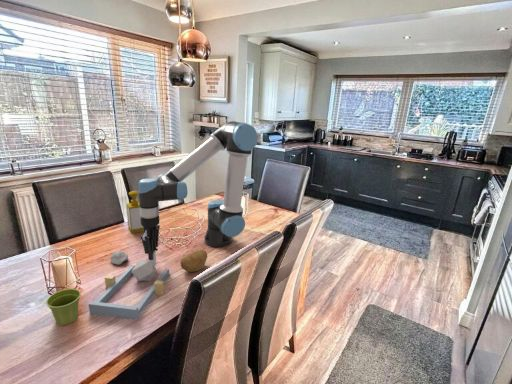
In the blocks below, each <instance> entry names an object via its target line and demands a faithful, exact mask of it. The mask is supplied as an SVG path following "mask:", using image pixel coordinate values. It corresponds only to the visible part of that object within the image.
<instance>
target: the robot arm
mask: <svg viewBox="0 0 512 384" xmlns="http://www.w3.org/2000/svg"><path fill="white" fill-rule="evenodd" d="M258 139H259V136H258V132H257V130H256V128H255V127H254V126H253V125H251V124H249V123H246V122H240V121H239V122H238V121H236V120H235V121H232V120H231V121H228V122H226V123H224V124H223V125H221V126H220V127H219V128H217V129H216V130H214V132H212V133H211V134H210V137H209V139H207V140H206V141H205V142H203V143H201V145H200V146H199V147H197V148H196V149H195V150H193V151H192V152H191V153H190V154H188V155H187V156H186V157H184V158H183V159H181V161H180V162H179V163H177V164H176V165H175V166H174V167H172V168H171V169H169V170H168V171H167V172H166V173H161V174H159V175H158V176H157V178H156V179H155V178H143V179H140V180H139V181H138V184H137V186H138V189H137V192H138V194H137V195H138V202H139V206H140V207H139V209H140V216H141V217H140V222H141V225H142V226H143V227H144V231H143V235H140V240H141V242H142V246H143V251H144V254H145V255H146V254H147V256H148V259H147V260H152V262H153V264H154V266H155V267H156V265H157V254H156V252H157V251H159V250H158V247H159V239H160V238H159V237H160V234H159V233H160V227H161V226H160V225H159V224H160V208H159V207H160V205H159V203H160V202H165V201H166V202H167V201H177V200H184V199H187V197H188V191H189V190H188V185H187V183H186V182H184V180H186V179H187V178H188V177H189V176H190V175H192V173H194V172H195V171H196V170H198V169H199V168H200V167H201V166H203V165H204V164H206V162H208V161H209V160H211V158H212V157H214V156H215V155H216V154H218V153H219V152H220V151H224V150H226V153H227V154H228V161H227V168H226V169H227V172H226V177H225V178H226V179H225V185H224V187H225V188H224V195H223V199H215V200H210V201H209V202H208V204H207V230H206V232H205V235H204V243H205V245H207V246H209V247H212V248H224V247H226V246H229V245H231V244H232V243H233V238H234V237H237V236H239V235H240V234H242V233H243V231H244V230H245V227H246V221H245V218H244V217H243V216H244V215H243V214H244V208H243V206H242V199H243V191H244V185H245V178H246V171H247V169H246V168H247V164H248V163H247V162H248V158H249V157H250V156H251V155H252V151H253V149H255V147H256V146H257V144H258Z"/></svg>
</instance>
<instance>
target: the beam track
mask: <svg viewBox="0 0 512 384" xmlns="http://www.w3.org/2000/svg"><path fill="white" fill-rule="evenodd" d="M135 265H136V264H131V265H130V266H129V267H128V268H126V270H125V271H124V272H123V273H122V274H121V275H120V276H119V277H118V278H116V275H113V274H112V275H111V274H107V275H106V276H105V277H104V283H105V289H106V290H105V291H104V292H103V293H101V295H100V296H99V297H98V298H97V299H96V300H95V301H93V300H91V301H90V302H89V303H88V309H89V314H91V315H96V316H98V315H99V316H106V317H113V318H122V319H127V320H128V319H130V320H138V319H139V317H140V315H141V314H142V313H143V311H144V310H145V309H146V307H147V305H148V304H149V303H150V302H151V300H152V299H153V298H154V296H155V295H156V296H163V294H164V293H165V283H164V282H165V280H166V279H167V278H168V277H169V275H170V269H169V268H165V269H164V270H163V272H162V273H161V274H160V275H159V277H158V278H157V279H156V280H155V281H154V282H153V285H152V286H151V287H150V289H148V291H147V292H146V294H145V295H144V296H143V297H142V299H141V300H140V301H139V303H138V305H137V306H133V305H125V304H118V303H110V302H107V301H108V300H109V299H110V298H111V297H112V296H113V295H114V294H115V293H116V292H117V290H118V289H119V288H120V287H121V286H122V285H123V284H124V283H126V281H127V280H128V279H129V278H130V277H131V275H133V273H132V272H131V271H132V270H133V268H134V267H135Z"/></svg>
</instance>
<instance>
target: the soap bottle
mask: <svg viewBox="0 0 512 384" xmlns="http://www.w3.org/2000/svg"><path fill="white" fill-rule="evenodd" d="M128 195H129V197H131V198H132V199H130V202H129V203H126V214H127V225H128V230H129V232H130V234H131V235H133V234H137V233H138V234H139V233H141V232H142V233H144V227H143V226H142V225H141V222H140V217H141V216H140V209H139V207H140V206H139V199H136V197H139V195H138V190H131V191H129V192H128Z"/></svg>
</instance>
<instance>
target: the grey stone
mask: <svg viewBox="0 0 512 384" xmlns="http://www.w3.org/2000/svg"><path fill="white" fill-rule="evenodd" d="M109 257H110V261H111V264H113V265H121V264H123V263H124V262H125V261H127V260H129V256H128V254H127V253H126V252H125V251H123V250H122V249H118V250H116V251H114V252H113V253H112V254H111V255H110V256H109Z"/></svg>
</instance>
